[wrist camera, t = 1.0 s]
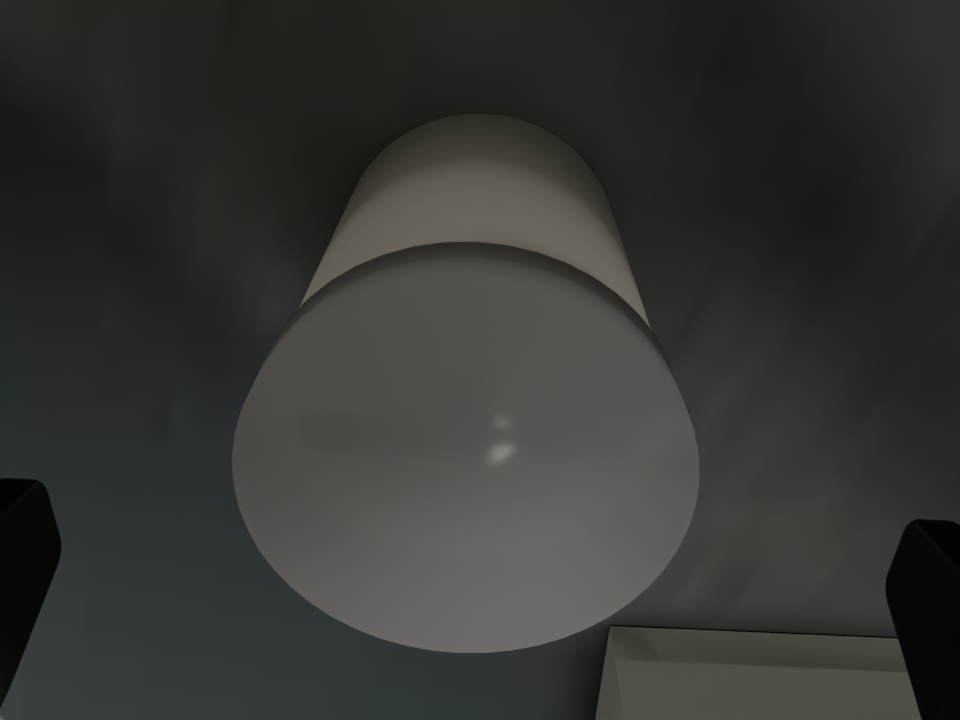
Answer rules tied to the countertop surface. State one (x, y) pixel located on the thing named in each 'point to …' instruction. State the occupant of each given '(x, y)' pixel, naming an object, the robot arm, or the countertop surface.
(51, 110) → the countertop surface
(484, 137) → the cylinder
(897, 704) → the sage tray
